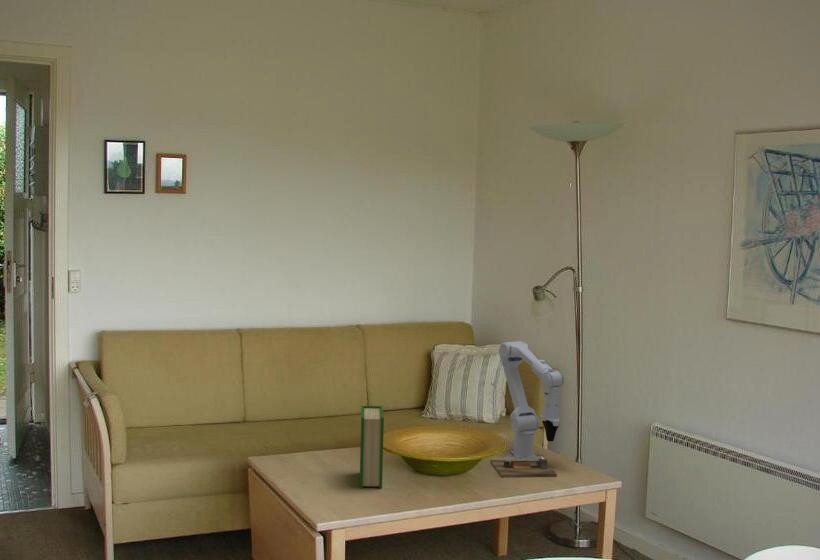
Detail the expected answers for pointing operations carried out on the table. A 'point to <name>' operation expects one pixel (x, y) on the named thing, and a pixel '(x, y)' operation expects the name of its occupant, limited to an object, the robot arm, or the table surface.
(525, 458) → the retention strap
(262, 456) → the table surface
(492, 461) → the strap board
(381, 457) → the hardback book
